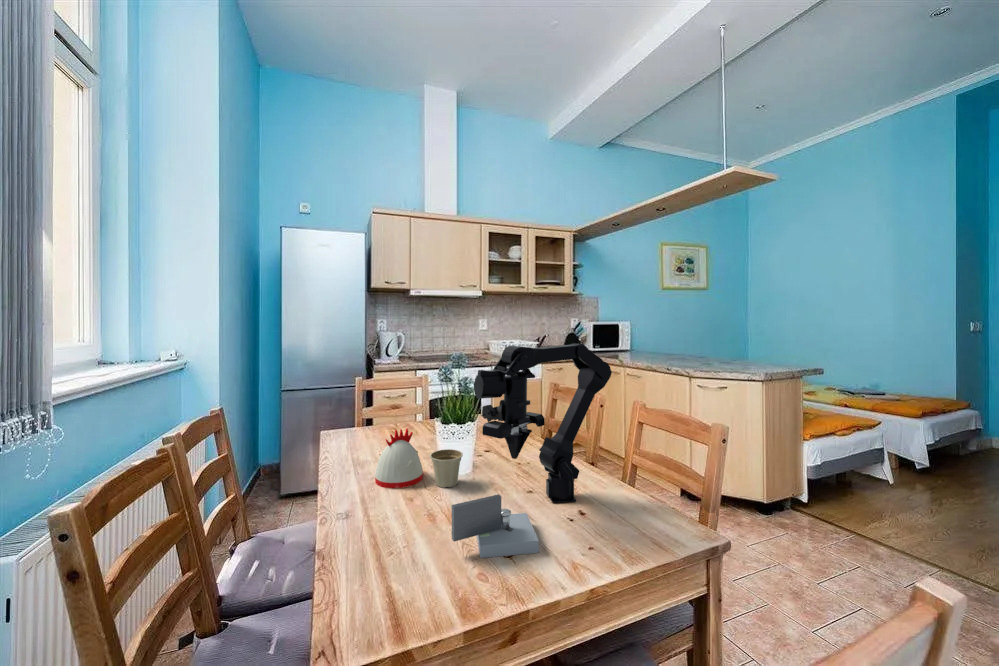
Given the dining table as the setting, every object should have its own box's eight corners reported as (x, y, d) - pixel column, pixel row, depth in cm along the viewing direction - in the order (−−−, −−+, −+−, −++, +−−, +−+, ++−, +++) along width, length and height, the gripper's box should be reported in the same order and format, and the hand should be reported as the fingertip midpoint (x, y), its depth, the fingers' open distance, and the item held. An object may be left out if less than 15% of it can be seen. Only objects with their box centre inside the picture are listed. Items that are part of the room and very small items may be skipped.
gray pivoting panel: (507, 522, 89) (507, 490, 89) (513, 527, 87) (513, 495, 87) (450, 537, 83) (450, 503, 83) (455, 543, 81) (454, 508, 81)
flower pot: (457, 491, 112) (457, 461, 112) (425, 489, 114) (425, 458, 113) (466, 478, 121) (466, 450, 121) (437, 476, 123) (436, 448, 123)
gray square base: (526, 523, 94) (526, 512, 94) (538, 552, 82) (538, 539, 82) (475, 527, 93) (475, 516, 93) (480, 558, 81) (480, 544, 81)
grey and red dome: (430, 481, 119) (429, 431, 119) (383, 492, 112) (382, 438, 111) (412, 467, 131) (412, 421, 130) (369, 476, 123) (368, 427, 123)
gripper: (512, 388, 113) (511, 444, 114) (466, 396, 99) (465, 460, 99) (546, 393, 106) (545, 452, 107) (501, 402, 92) (500, 471, 92)
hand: (514, 458), depth 101 cm, fingers closed
